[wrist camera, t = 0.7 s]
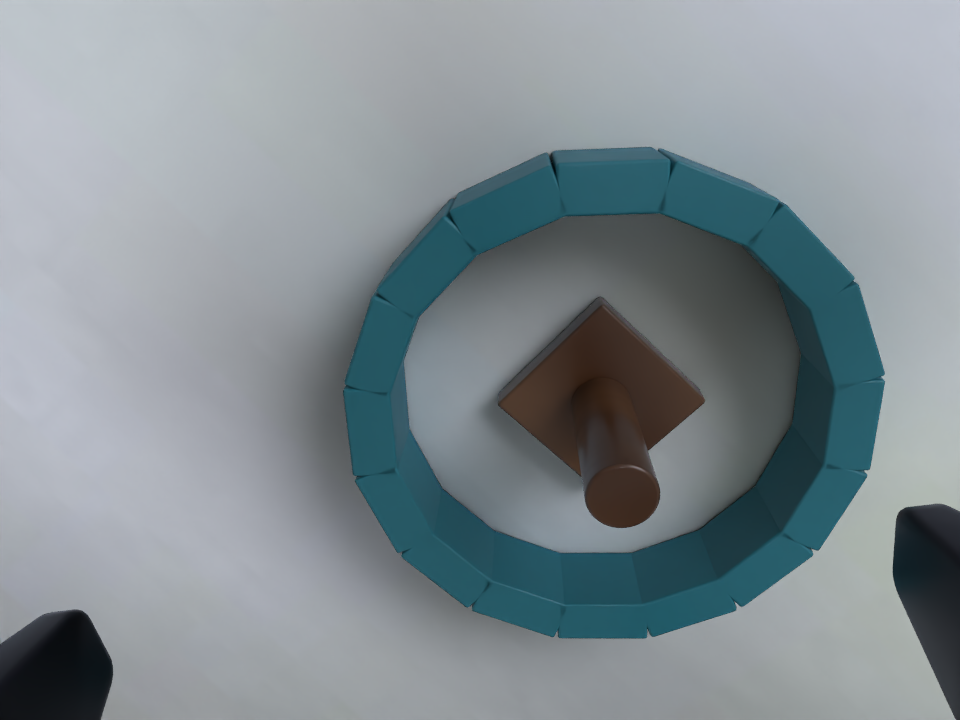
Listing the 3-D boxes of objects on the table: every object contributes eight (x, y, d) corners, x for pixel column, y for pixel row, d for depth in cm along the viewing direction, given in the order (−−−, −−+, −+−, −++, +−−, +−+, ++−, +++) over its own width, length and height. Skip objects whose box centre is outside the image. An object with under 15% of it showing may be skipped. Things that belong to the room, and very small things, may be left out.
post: (596, 479, 22) (619, 605, 17) (497, 393, 21) (489, 499, 16) (700, 389, 21) (758, 496, 16) (599, 294, 20) (626, 375, 15)
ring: (593, 653, 25) (600, 711, 22) (271, 397, 22) (243, 436, 20) (943, 385, 21) (994, 425, 18) (604, 28, 18) (617, 24, 16)
